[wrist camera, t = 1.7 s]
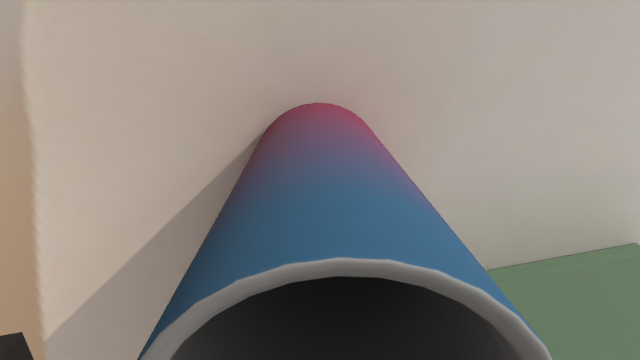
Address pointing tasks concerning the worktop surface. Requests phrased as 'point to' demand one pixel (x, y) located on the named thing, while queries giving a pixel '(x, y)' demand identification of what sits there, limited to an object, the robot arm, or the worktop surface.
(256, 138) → the worktop surface
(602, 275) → the bin
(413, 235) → the cup
